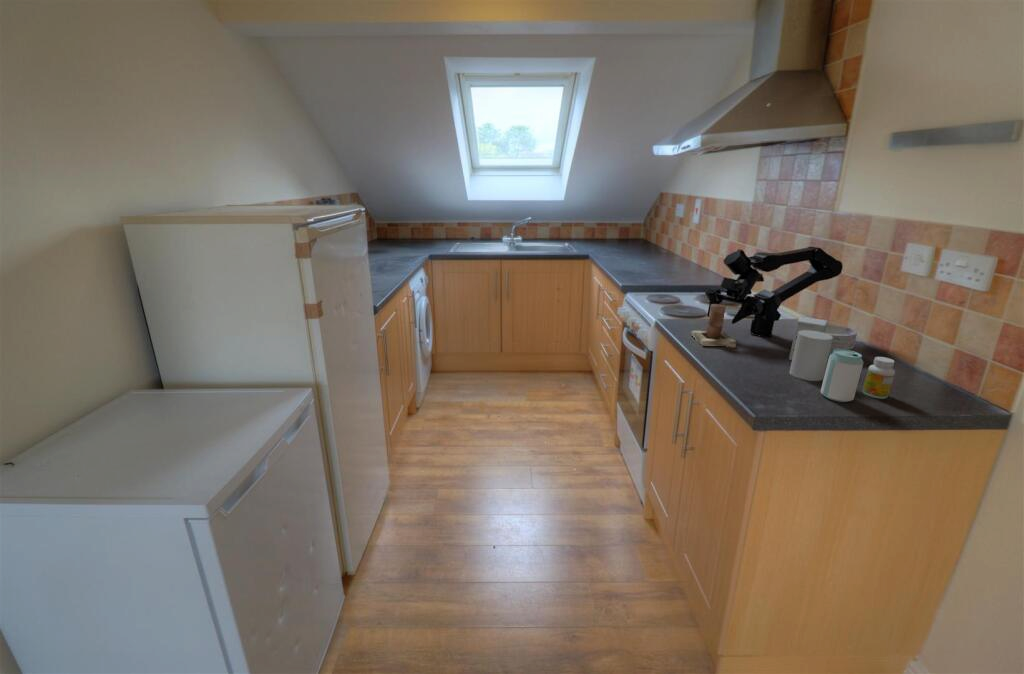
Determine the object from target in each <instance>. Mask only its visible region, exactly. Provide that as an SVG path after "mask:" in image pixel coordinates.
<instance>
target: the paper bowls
mask: <svg viewBox="0 0 1024 674" xmlns="http://www.w3.org/2000/svg"><path fill="white" fill-rule="evenodd" d="M825 333H826V334H829V335H831V336H832V337H833V339H832V344H831V348H830V352H829V356H830V355H831V354H832V353H833V352H834V350H836V349H844V350H851V349H854V347H855V343H856V339H857V336H858V333H857V331H856V330H854V329H852V328H850V327H847V326H843V325H837V324H832V323H827V325H826V329H825ZM829 356H828V357H829Z"/></svg>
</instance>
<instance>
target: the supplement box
mask: <svg viewBox="0 0 1024 674" xmlns="http://www.w3.org/2000/svg"><path fill="white" fill-rule="evenodd" d="M827 324H828V320H827V319H826V320H825V319H820V318H819V319H818V318H813V317H808V316H807V317H806V316H799V318H798V320H797V323H796V326H795V331H794V335H793V339H792V344H791V348H790V352H789V357H788V360H789V361H792V358H793V354H794V349H795V345H796V340H797V336H798V332H799V331H802V330H810V331H818V332H823V333H825V329H826V325H827Z"/></svg>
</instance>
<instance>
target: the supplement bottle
mask: <svg viewBox="0 0 1024 674" xmlns="http://www.w3.org/2000/svg"><path fill="white" fill-rule="evenodd" d="M894 366H895V360H894V359H892V358H889V357H884V356H875V357H874V360H873V364H871V365H869V367H868V369H867V371H866V372H867V373H866V376H865V380H864V383H863V387H862V393H863V394H864V395H865V396H867V397H871V398H875V399H881V400H884V399H887V398H888V397H889V395H890V391H891V387H892V384H893V381H894V378H895V374H896V371H895V369H894Z"/></svg>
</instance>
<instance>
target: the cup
mask: <svg viewBox="0 0 1024 674" xmlns="http://www.w3.org/2000/svg"><path fill="white" fill-rule="evenodd" d="M832 339H833V337H832V336H831V335H829V334H826V333H823V332H818V331H810V330H802V331H799V332H798V336H797V340H796V345H795V349H794V354H793V358H792V360H791V364H790V369H789V374H790V375H791V376H793V377H794V378H797V379H801V380H803V381H809V382H810V381H811V382H818V381H823V379H824V375H825V371H826V367H827V363H828V359H829V352H830V348H831V344H832Z"/></svg>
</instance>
